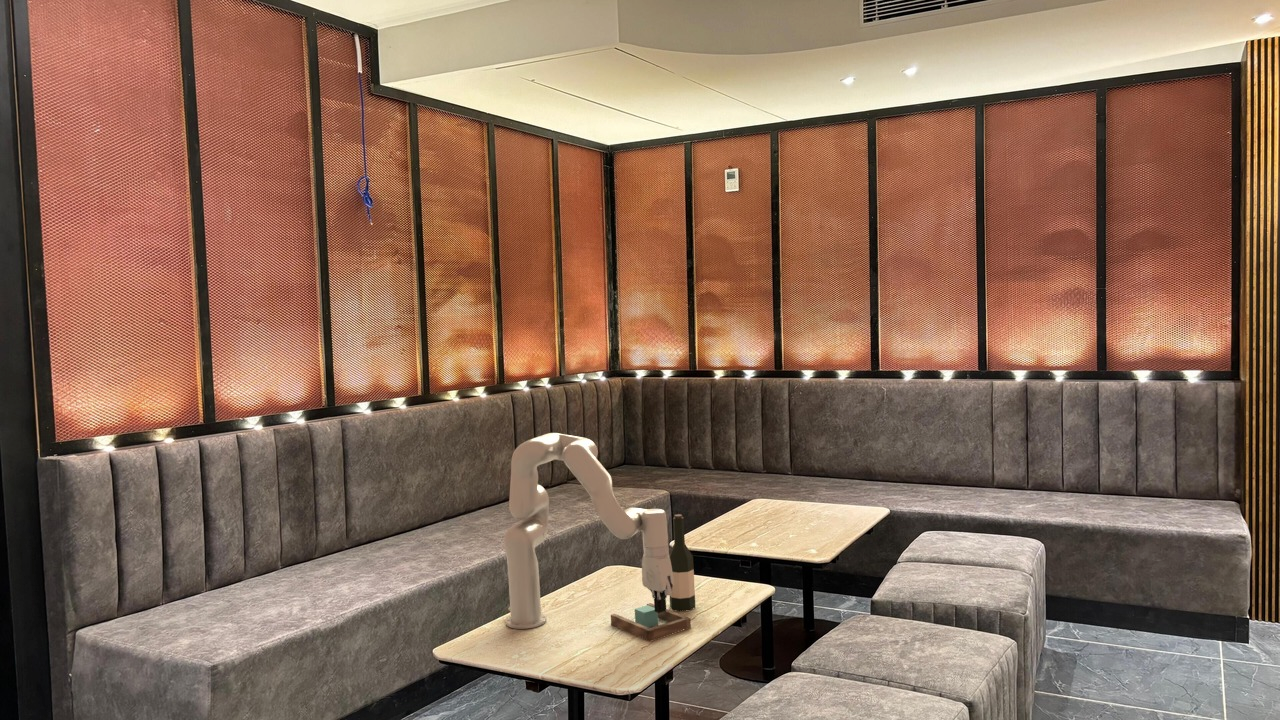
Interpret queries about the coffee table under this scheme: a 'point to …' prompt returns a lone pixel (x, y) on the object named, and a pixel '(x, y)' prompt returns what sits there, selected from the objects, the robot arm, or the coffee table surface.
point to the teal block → (646, 616)
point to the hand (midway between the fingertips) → (660, 611)
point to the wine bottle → (681, 570)
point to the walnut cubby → (675, 625)
